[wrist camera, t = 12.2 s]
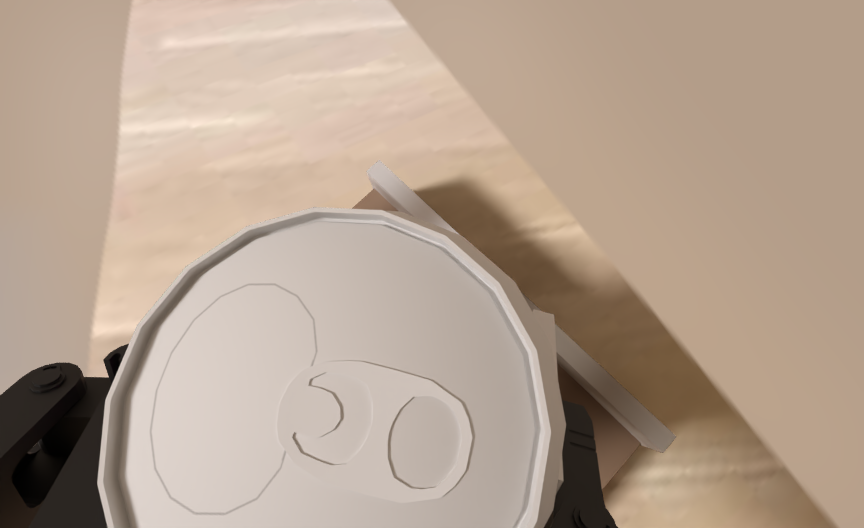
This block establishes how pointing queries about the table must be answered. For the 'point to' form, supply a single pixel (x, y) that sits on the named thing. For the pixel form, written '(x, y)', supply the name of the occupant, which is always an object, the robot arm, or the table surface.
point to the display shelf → (577, 371)
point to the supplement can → (335, 386)
